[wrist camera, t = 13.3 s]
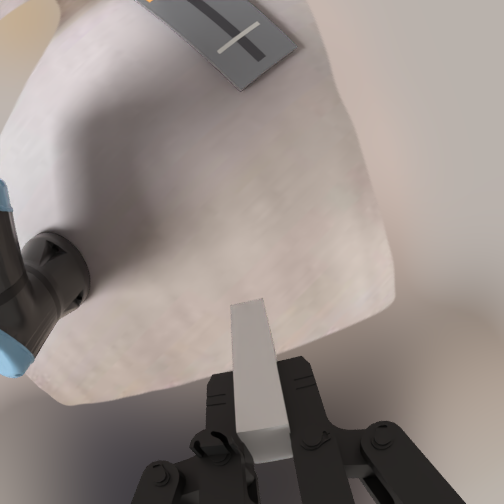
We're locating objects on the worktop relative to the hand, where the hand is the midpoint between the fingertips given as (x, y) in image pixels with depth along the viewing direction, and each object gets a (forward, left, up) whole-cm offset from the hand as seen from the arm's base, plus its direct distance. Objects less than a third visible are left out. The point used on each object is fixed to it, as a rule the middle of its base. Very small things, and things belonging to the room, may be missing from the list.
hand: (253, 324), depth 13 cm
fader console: (+1, +28, -29) cm, 41 cm away
